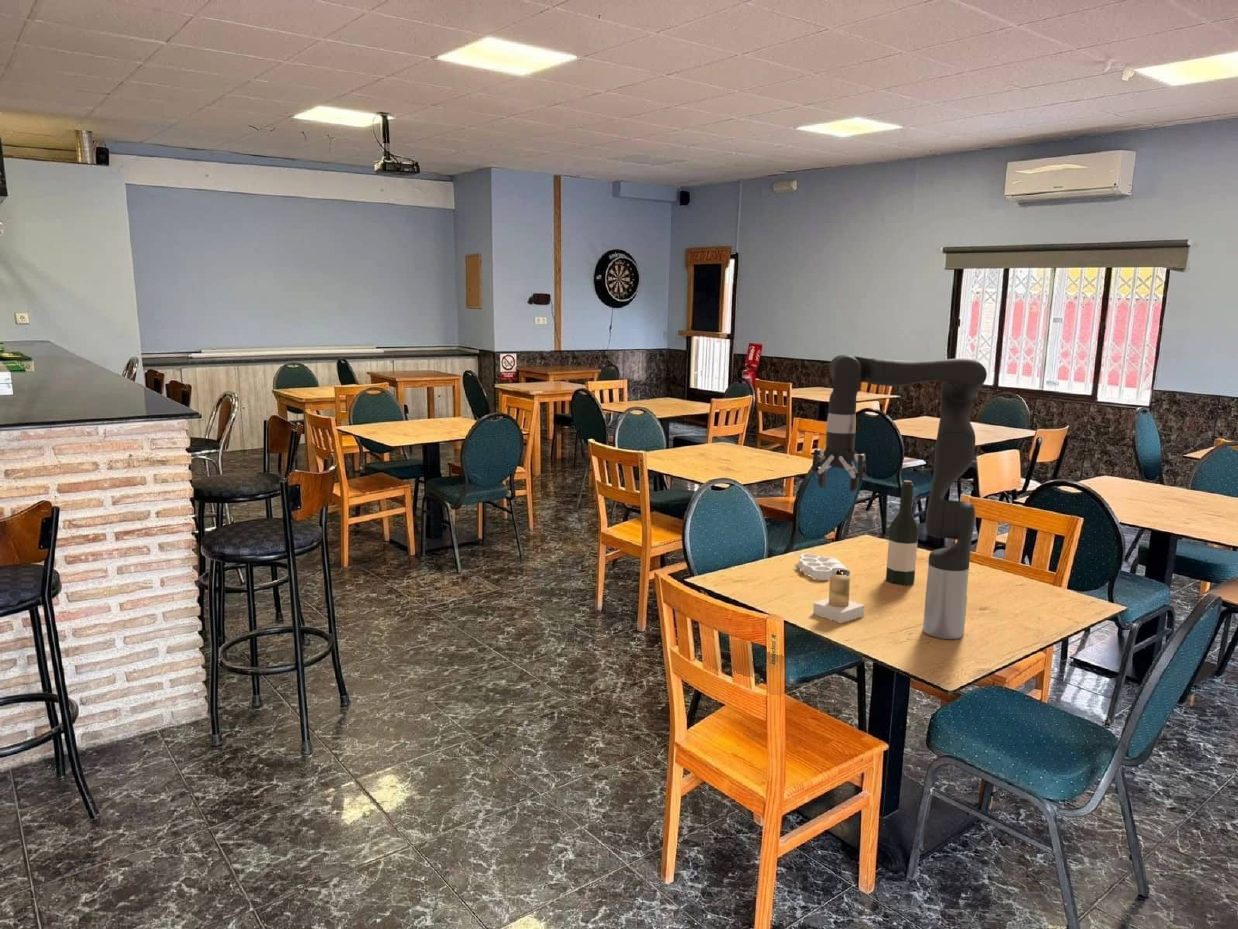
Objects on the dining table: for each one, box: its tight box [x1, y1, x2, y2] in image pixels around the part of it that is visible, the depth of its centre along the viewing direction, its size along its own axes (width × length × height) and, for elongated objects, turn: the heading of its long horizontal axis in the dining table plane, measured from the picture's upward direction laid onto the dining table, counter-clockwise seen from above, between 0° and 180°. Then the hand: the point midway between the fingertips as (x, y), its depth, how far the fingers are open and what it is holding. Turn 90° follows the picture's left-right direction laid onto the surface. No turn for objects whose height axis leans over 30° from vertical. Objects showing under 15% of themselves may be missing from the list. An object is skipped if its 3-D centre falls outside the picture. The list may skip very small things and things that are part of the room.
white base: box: [812, 597, 865, 624], centre depth 216 cm, size 9×9×3 cm
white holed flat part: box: [793, 553, 851, 581], centre depth 252 cm, size 3×18×15 cm
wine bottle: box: [885, 479, 920, 587], centre depth 242 cm, size 8×8×30 cm
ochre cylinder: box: [828, 574, 851, 607], centre depth 215 cm, size 5×5×7 cm
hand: (837, 489), depth 226 cm, fingers open, 8 cm apart
